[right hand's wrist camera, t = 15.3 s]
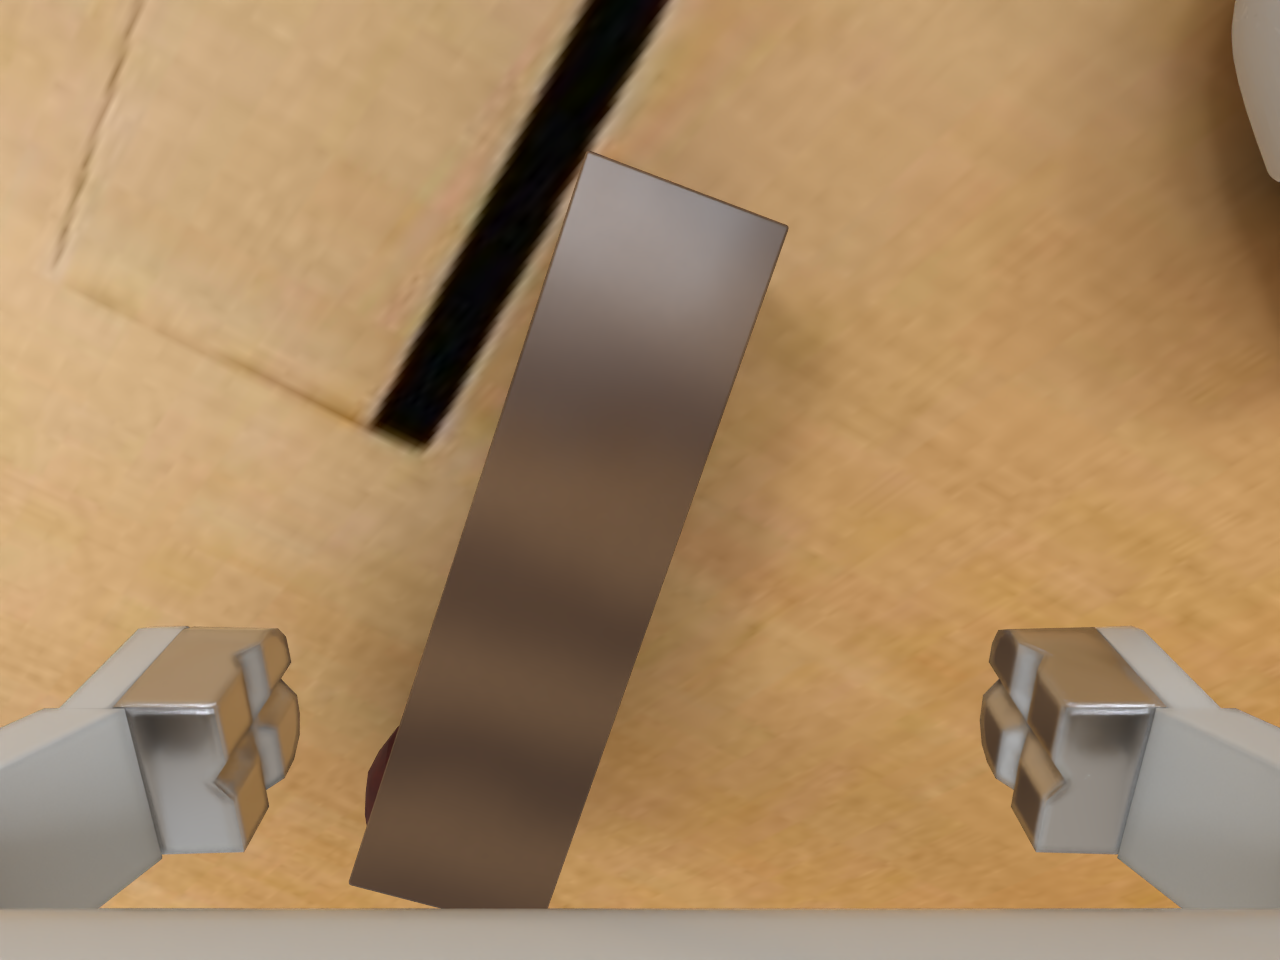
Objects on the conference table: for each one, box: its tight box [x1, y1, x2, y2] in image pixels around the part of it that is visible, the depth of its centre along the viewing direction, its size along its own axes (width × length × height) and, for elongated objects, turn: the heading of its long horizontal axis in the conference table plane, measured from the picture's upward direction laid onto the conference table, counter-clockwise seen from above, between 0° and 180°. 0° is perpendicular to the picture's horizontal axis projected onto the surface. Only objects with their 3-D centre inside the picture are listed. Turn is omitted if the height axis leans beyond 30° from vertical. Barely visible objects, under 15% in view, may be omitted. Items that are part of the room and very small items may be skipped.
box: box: [349, 151, 788, 909], centre depth 30 cm, size 22×6×9 cm, turn 160°
